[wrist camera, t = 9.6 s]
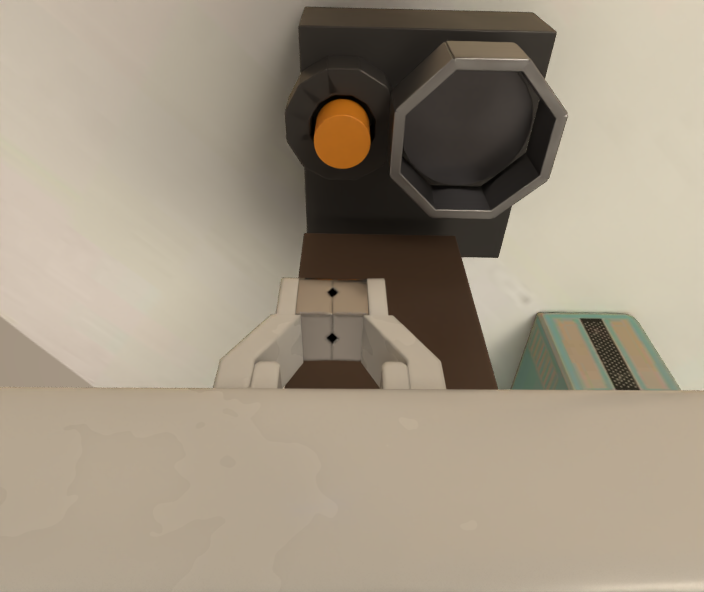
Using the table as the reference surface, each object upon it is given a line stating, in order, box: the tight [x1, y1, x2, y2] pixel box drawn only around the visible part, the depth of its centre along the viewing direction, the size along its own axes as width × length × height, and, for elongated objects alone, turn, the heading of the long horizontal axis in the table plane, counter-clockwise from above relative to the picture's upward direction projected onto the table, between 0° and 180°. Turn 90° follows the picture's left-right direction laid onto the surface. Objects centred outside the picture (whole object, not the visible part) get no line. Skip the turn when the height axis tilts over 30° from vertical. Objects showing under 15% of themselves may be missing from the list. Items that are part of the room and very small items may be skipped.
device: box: [511, 313, 681, 390], centre depth 34 cm, size 16×8×30 cm, turn 179°
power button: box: [314, 99, 371, 169], centre depth 24 cm, size 3×3×2 cm
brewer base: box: [285, 7, 557, 258], centre depth 28 cm, size 13×13×6 cm
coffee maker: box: [285, 41, 568, 390], centre depth 21 cm, size 12×13×15 cm
